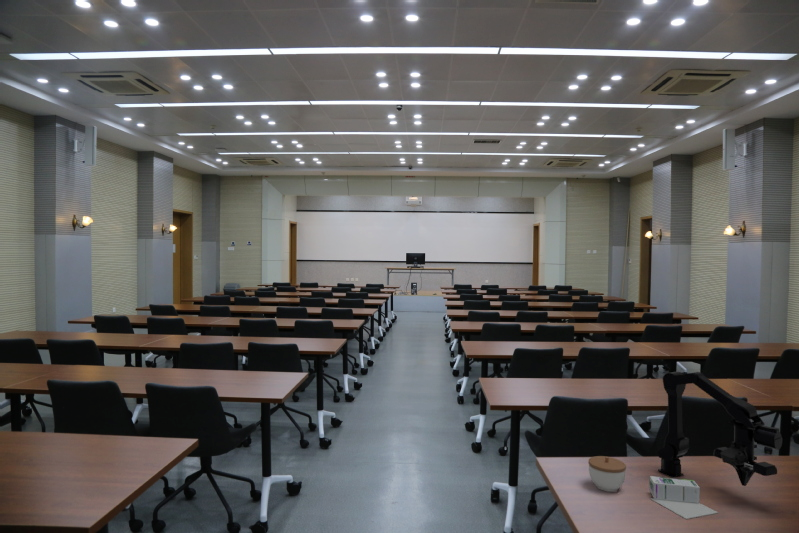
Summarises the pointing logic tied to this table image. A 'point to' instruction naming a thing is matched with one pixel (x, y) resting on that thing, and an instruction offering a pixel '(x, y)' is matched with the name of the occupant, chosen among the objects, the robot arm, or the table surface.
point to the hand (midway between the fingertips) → (743, 485)
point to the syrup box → (674, 489)
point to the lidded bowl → (607, 473)
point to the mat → (685, 508)
